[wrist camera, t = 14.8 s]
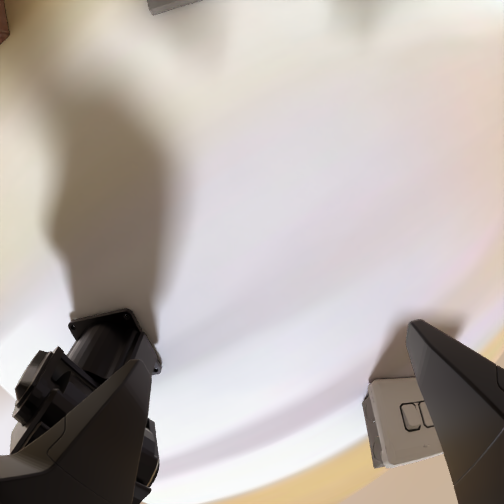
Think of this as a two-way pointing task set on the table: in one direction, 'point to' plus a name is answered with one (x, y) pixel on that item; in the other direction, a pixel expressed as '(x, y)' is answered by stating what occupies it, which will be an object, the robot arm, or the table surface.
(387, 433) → the electrical switch
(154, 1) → the board
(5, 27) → the letter holder
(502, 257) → the table surface
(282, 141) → the table surface
